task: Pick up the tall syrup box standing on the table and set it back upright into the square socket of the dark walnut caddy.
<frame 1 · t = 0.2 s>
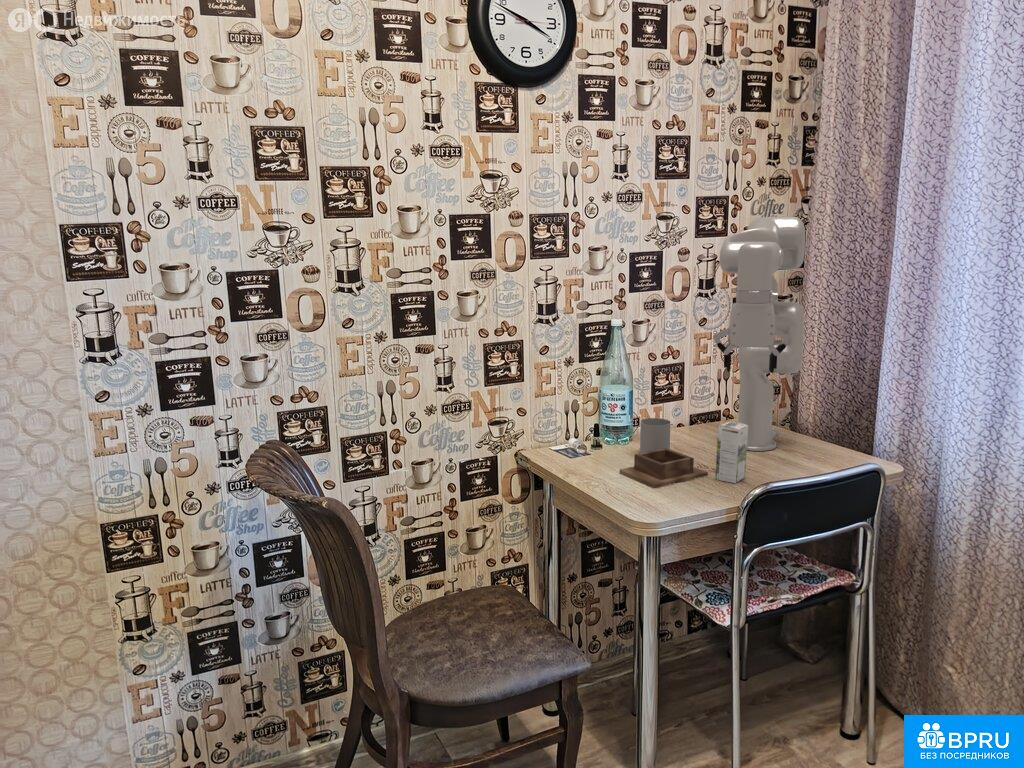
hand: (749, 371, 176), 30 cm above the table, tool pointing down, fingers open, 9 cm apart
syrup box: (730, 479, 194), on the table
caddy: (663, 474, 198), on the table
cup: (654, 456, 214), on the table
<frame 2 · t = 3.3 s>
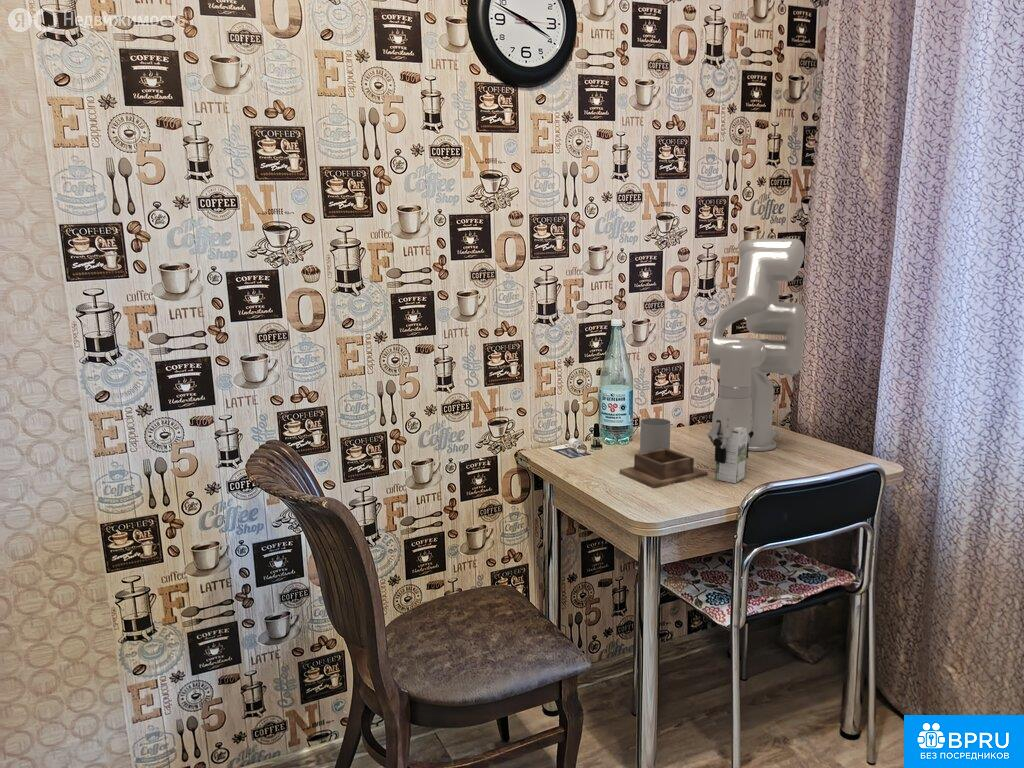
hand: (731, 459, 193), 5 cm above the table, tool pointing down, fingers closed on syrup box, 7 cm apart
syrup box: (730, 479, 194), on the table, touching gripper
everything else where it was.
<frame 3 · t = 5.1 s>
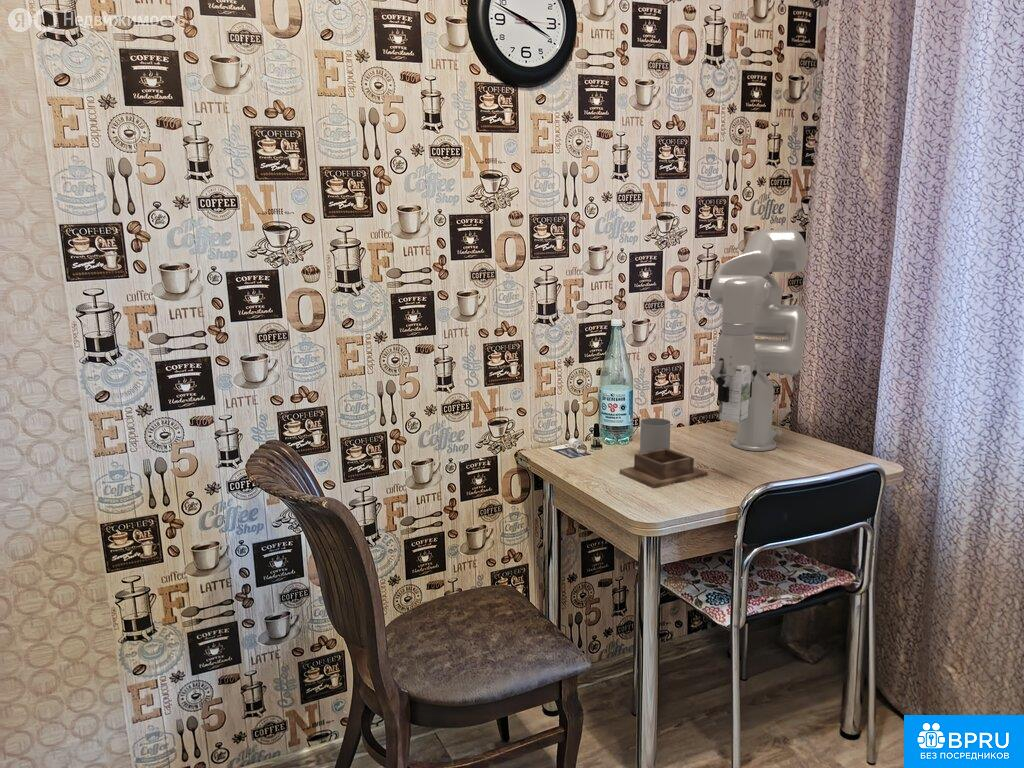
hand: (734, 398, 190), 21 cm above the table, tool pointing down, fingers closed on syrup box, 7 cm apart
syrup box: (733, 419, 191), point 16 cm above the table, touching gripper
everything else where it was.
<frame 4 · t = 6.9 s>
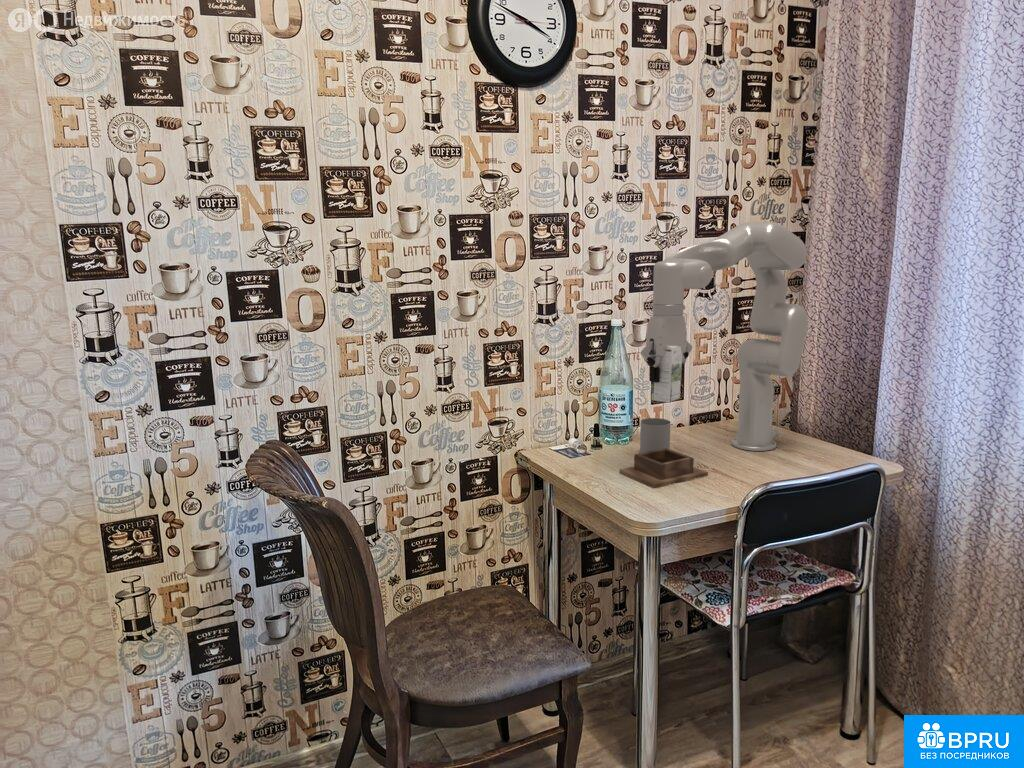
hand: (666, 379, 193), 25 cm above the table, tool pointing down, fingers closed on syrup box, 7 cm apart
syrup box: (665, 400, 194), point 20 cm above the table, touching gripper
everything else where it was.
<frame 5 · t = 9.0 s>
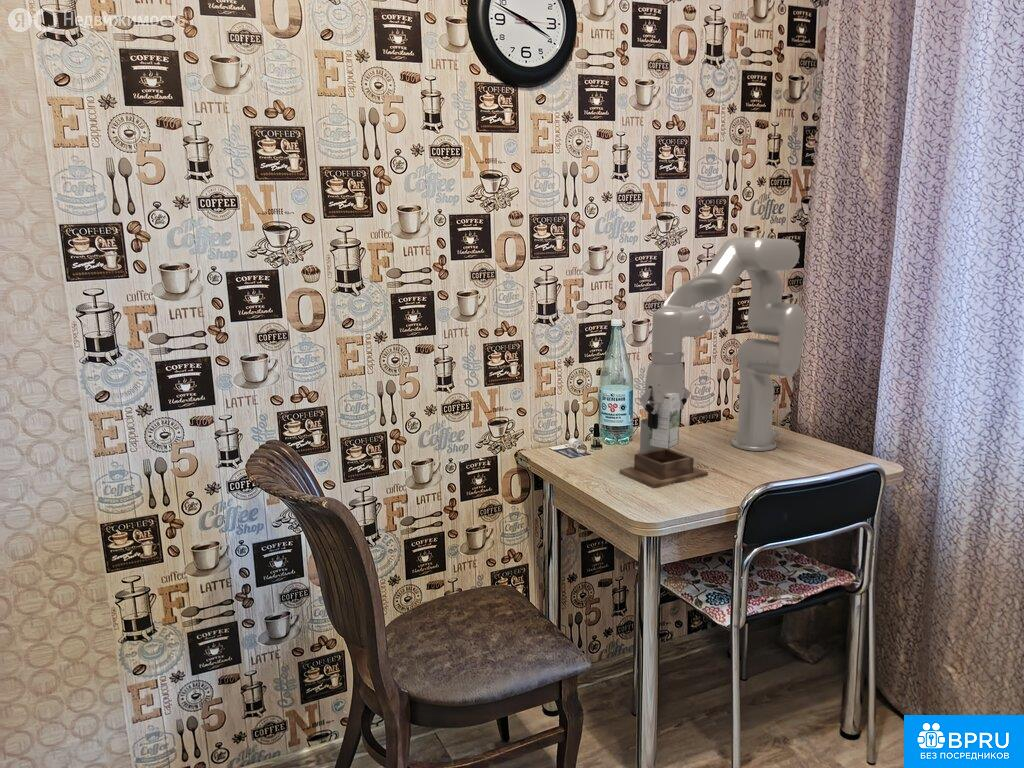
hand: (664, 425, 195), 13 cm above the table, tool pointing down, fingers closed on syrup box, 7 cm apart
syrup box: (663, 446, 196), point 8 cm above the table, touching gripper
everything else where it was.
when the fingers open (8 cm above the table, at t = 10.7 s): syrup box drops 1 cm, resting on caddy.
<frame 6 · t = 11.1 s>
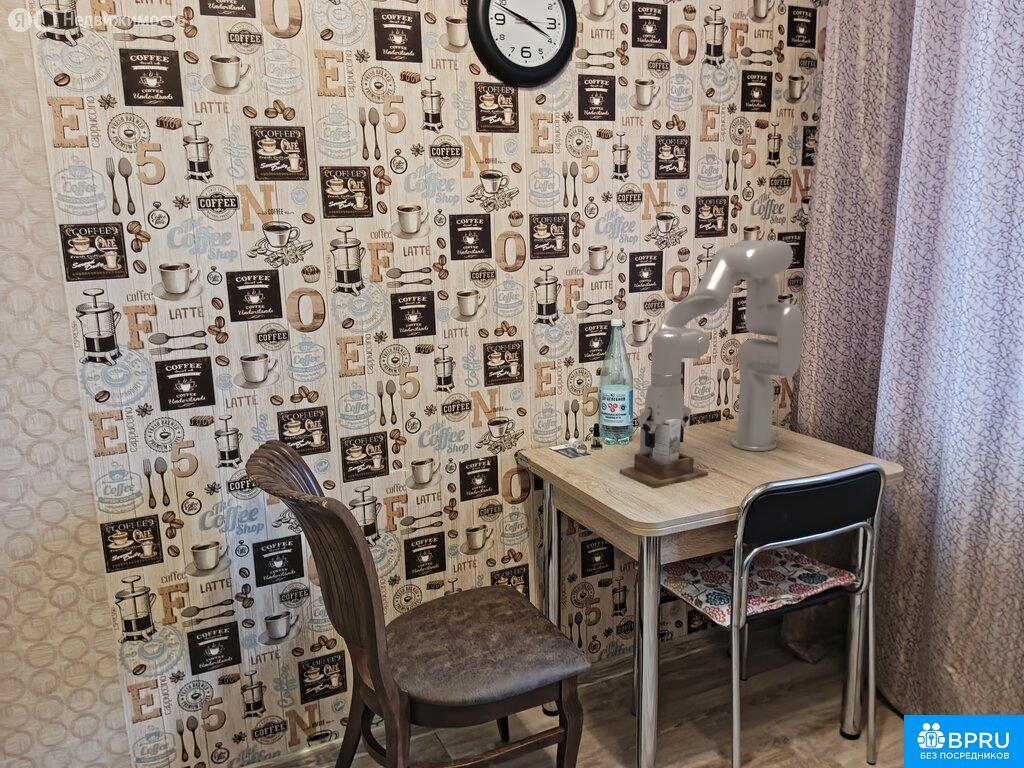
hand: (664, 444, 196), 8 cm above the table, tool pointing down, fingers open, 9 cm apart
syrup box: (664, 471, 198), point 1 cm above the table, touching caddy
everything else where it was.
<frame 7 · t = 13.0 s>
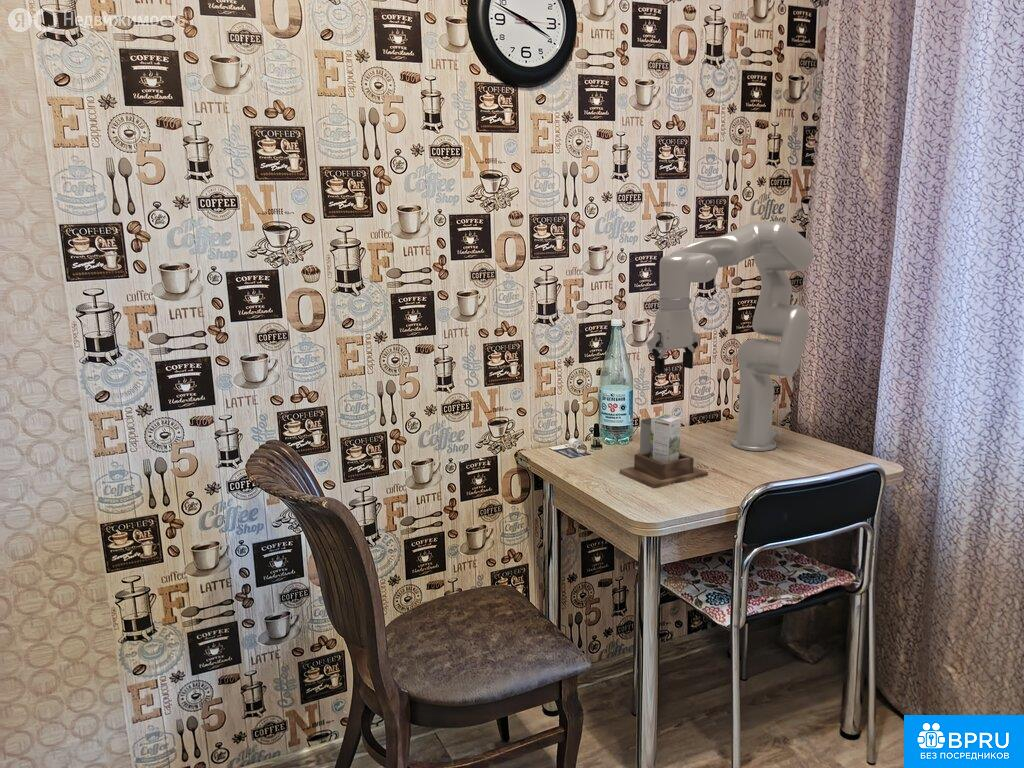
hand: (673, 370, 196), 27 cm above the table, tool pointing down, fingers open, 9 cm apart
nothing on the table moved.
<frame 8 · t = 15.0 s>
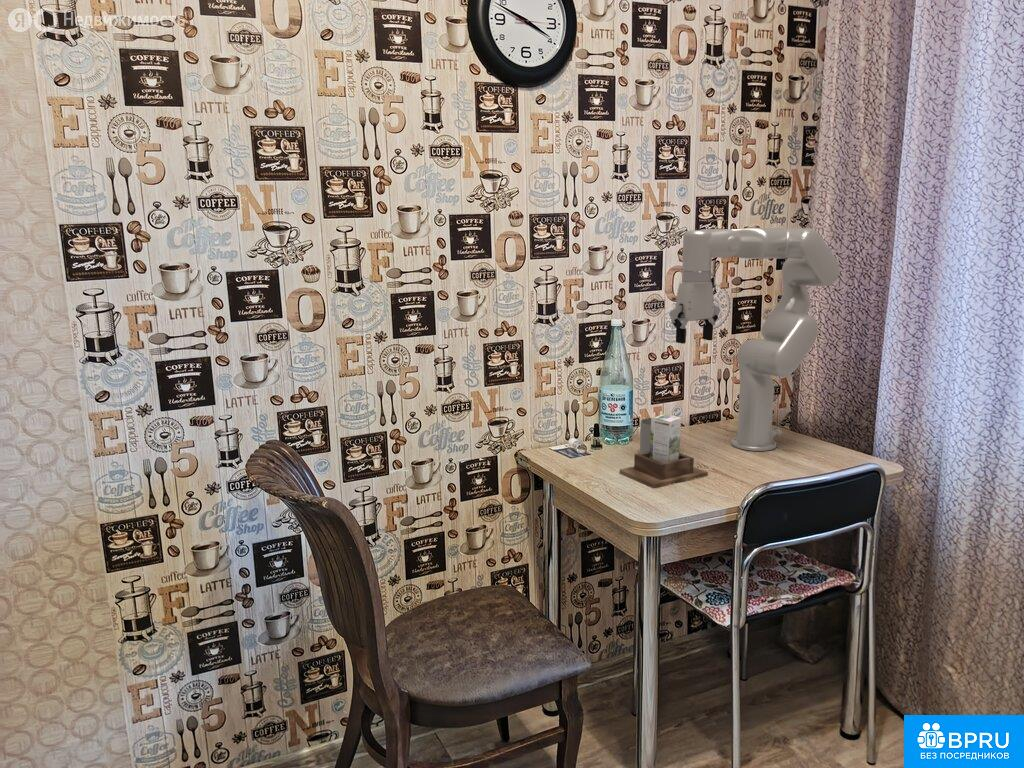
hand: (694, 341, 204), 33 cm above the table, tool pointing down, fingers open, 9 cm apart
nothing on the table moved.
at the end: syrup box 0.3 cm off-centre on the caddy, point 0.8 cm above the caddy's base; syrup box tilted 0°; the gripper is holding nothing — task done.
